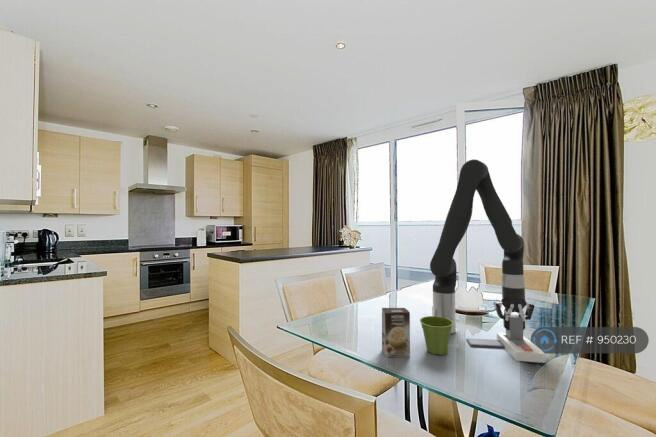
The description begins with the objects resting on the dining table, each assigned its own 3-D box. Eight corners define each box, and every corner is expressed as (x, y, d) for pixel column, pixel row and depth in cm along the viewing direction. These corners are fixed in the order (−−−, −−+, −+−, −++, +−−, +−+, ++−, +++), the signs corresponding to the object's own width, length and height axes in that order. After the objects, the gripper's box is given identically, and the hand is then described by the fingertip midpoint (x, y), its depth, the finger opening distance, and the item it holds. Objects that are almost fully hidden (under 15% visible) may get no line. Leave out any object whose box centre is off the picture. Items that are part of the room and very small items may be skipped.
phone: (470, 346, 115) (470, 344, 115) (466, 340, 121) (466, 338, 121) (504, 348, 113) (504, 346, 113) (498, 342, 119) (498, 339, 119)
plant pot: (426, 342, 120) (426, 314, 120) (457, 349, 112) (457, 319, 112) (415, 352, 111) (414, 322, 111) (447, 361, 103) (447, 329, 103)
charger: (510, 339, 113) (510, 317, 113) (505, 334, 117) (505, 314, 117) (523, 339, 112) (522, 318, 112) (518, 335, 117) (517, 314, 117)
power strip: (516, 360, 103) (516, 349, 103) (496, 339, 121) (496, 330, 121) (545, 362, 101) (545, 351, 101) (521, 341, 119) (521, 331, 119)
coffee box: (385, 357, 107) (384, 312, 107) (381, 350, 113) (380, 307, 113) (410, 356, 107) (410, 312, 107) (405, 349, 114) (404, 307, 114)
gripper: (496, 287, 113) (497, 332, 112) (538, 287, 110) (540, 334, 110) (489, 283, 120) (490, 325, 120) (528, 283, 117) (530, 327, 117)
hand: (514, 329), depth 115 cm, fingers closed on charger, 4 cm apart
